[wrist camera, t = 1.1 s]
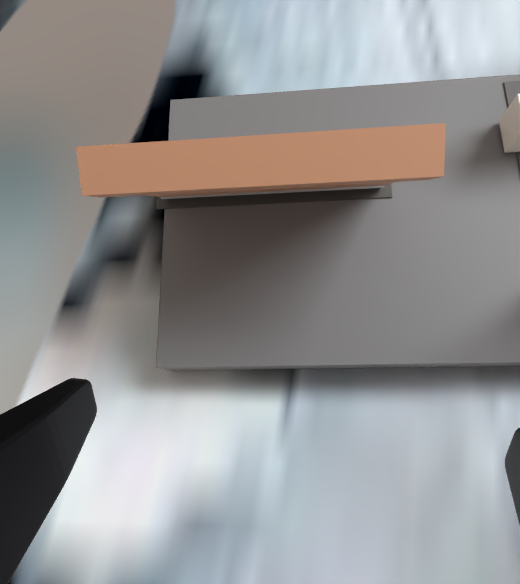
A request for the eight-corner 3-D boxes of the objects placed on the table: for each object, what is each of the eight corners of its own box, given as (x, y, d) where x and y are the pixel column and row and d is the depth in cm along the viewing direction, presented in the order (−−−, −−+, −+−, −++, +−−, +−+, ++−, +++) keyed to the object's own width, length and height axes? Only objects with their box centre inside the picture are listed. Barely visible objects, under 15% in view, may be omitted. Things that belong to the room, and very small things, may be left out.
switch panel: (582, 364, 21) (620, 360, 19) (162, 370, 23) (145, 367, 21) (529, 103, 25) (555, 70, 23) (174, 126, 27) (162, 99, 25)
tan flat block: (381, 192, 22) (444, 176, 13) (165, 203, 23) (81, 195, 14) (381, 161, 22) (445, 122, 13) (163, 173, 23) (76, 146, 14)
